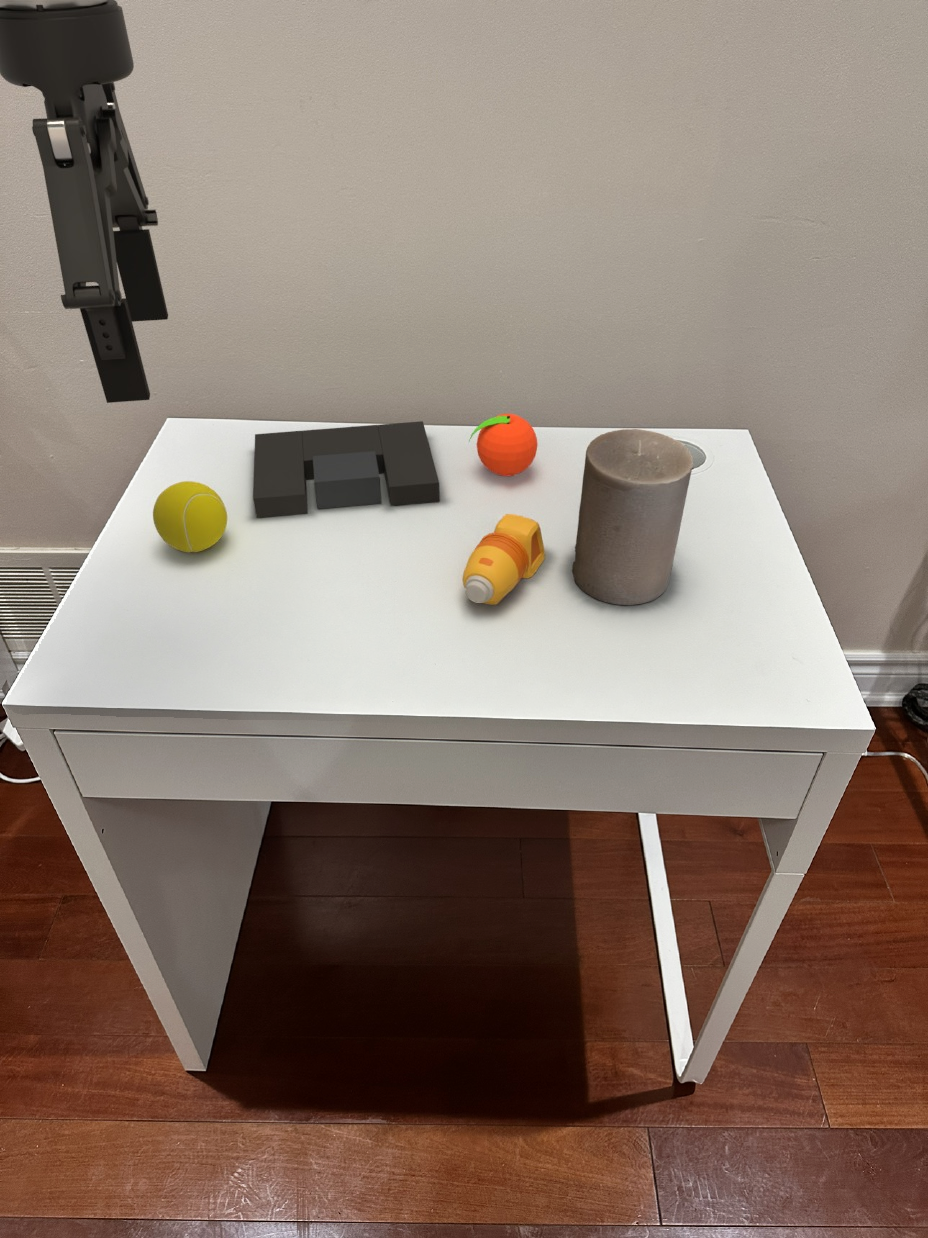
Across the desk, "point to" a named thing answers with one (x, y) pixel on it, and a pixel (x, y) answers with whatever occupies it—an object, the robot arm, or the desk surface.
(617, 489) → the pillar candle
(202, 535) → the tennis ball
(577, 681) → the desk surface
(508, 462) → the clementine
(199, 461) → the desk surface
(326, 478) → the dark grey rectangular block
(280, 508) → the black u-shaped block
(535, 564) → the yellow toy drill
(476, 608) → the desk surface
